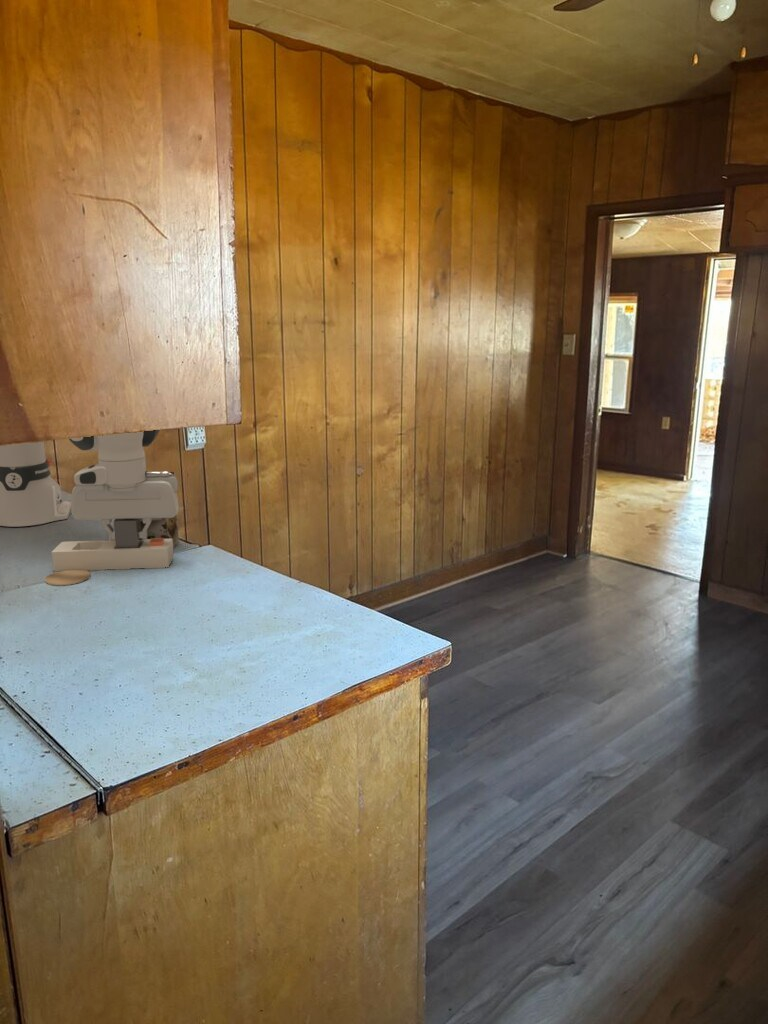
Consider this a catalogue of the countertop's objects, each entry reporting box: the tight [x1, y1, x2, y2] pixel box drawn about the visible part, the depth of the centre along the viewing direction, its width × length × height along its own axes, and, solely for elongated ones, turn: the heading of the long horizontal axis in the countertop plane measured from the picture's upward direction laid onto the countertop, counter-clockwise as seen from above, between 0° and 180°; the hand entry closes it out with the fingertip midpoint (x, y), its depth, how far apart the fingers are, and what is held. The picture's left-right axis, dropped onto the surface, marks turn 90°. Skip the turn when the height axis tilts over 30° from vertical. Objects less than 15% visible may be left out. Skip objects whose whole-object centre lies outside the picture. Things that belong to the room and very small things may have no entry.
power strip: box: [51, 538, 175, 573], centre depth 151 cm, size 22×7×5 cm, turn 97°
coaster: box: [44, 570, 91, 587], centre depth 143 cm, size 8×8×1 cm
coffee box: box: [140, 471, 180, 549], centre depth 160 cm, size 9×6×16 cm
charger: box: [113, 518, 142, 549], centre depth 151 cm, size 4×4×7 cm
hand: (128, 539), depth 151 cm, fingers closed on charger, 4 cm apart
